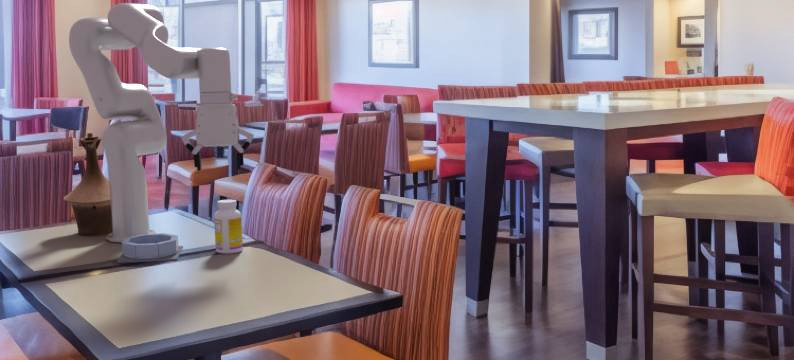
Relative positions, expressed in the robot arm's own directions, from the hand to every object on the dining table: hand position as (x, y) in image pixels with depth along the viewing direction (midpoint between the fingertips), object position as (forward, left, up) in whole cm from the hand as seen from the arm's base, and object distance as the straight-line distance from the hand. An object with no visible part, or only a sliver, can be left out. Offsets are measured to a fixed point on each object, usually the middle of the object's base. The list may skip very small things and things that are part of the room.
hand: (219, 169), depth 202 cm
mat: (-2, -18, -21) cm, 27 cm away
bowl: (-2, -18, -21) cm, 27 cm away
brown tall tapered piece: (-33, -36, -21) cm, 53 cm away
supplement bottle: (-2, +1, -21) cm, 21 cm away
